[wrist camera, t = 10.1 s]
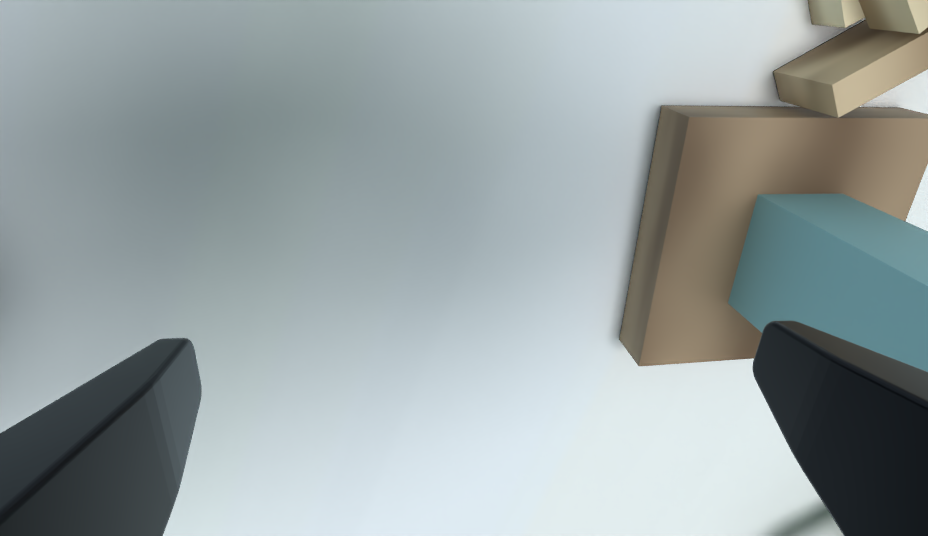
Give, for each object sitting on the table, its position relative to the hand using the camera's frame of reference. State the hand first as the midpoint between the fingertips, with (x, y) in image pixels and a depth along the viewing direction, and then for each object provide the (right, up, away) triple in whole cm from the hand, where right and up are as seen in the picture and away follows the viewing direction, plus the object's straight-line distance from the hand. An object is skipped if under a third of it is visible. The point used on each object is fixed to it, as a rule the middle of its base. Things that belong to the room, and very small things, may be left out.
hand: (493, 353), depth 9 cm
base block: (+11, +3, +15) cm, 19 cm away
